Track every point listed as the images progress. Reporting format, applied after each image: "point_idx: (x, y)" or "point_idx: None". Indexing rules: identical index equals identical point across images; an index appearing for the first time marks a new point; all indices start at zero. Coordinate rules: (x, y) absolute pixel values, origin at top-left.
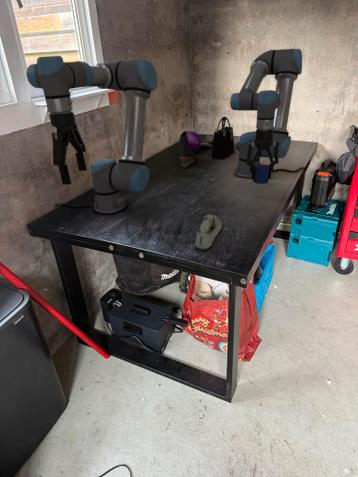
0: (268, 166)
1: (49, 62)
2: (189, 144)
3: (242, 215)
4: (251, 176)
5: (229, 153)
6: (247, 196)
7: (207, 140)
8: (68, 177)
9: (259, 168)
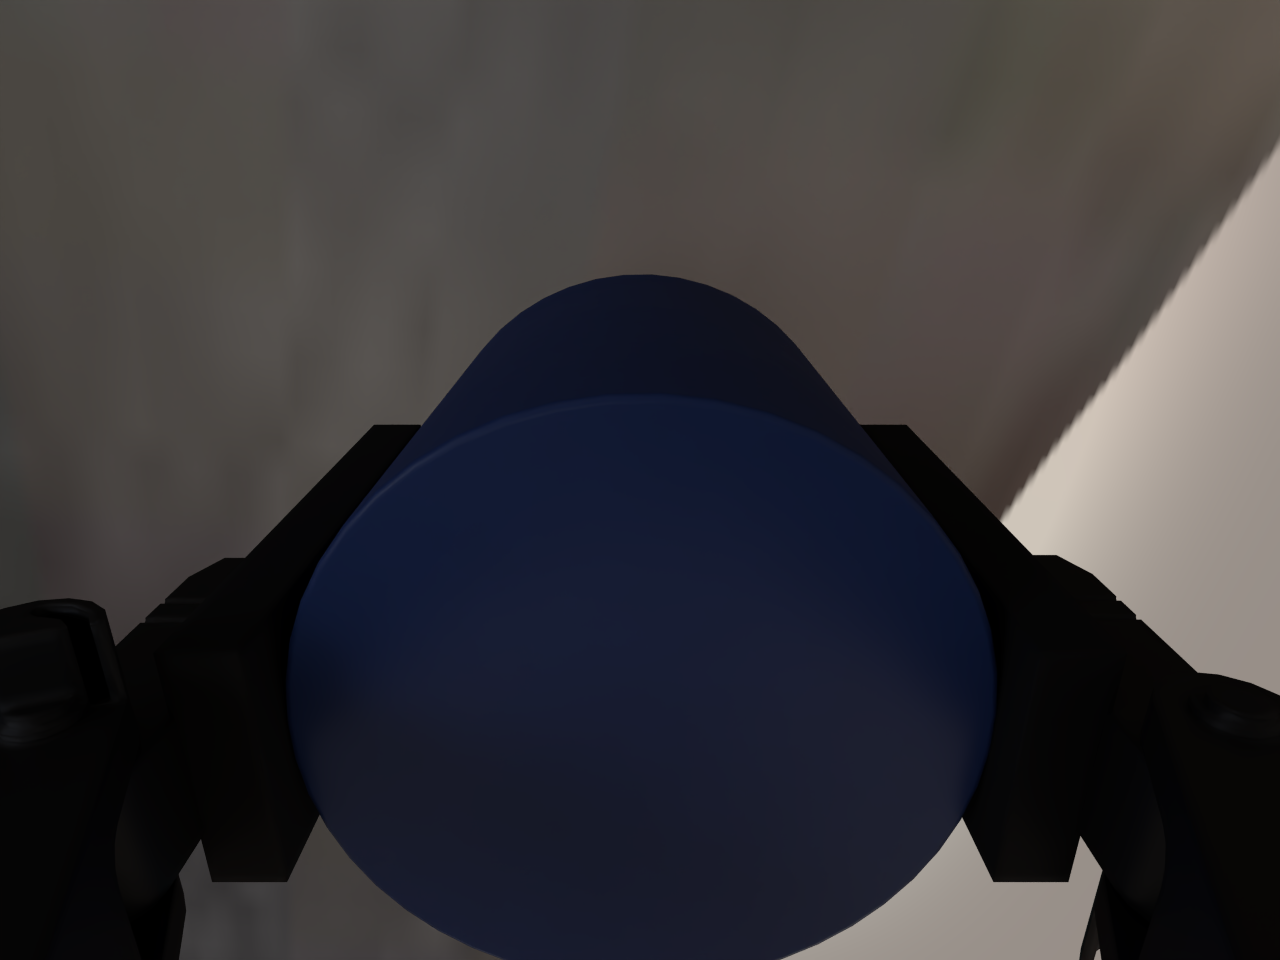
0: (927, 786)
1: None
2: None
3: (323, 894)
4: (358, 452)
5: None
6: (428, 324)
7: None
8: None
9: (492, 941)
